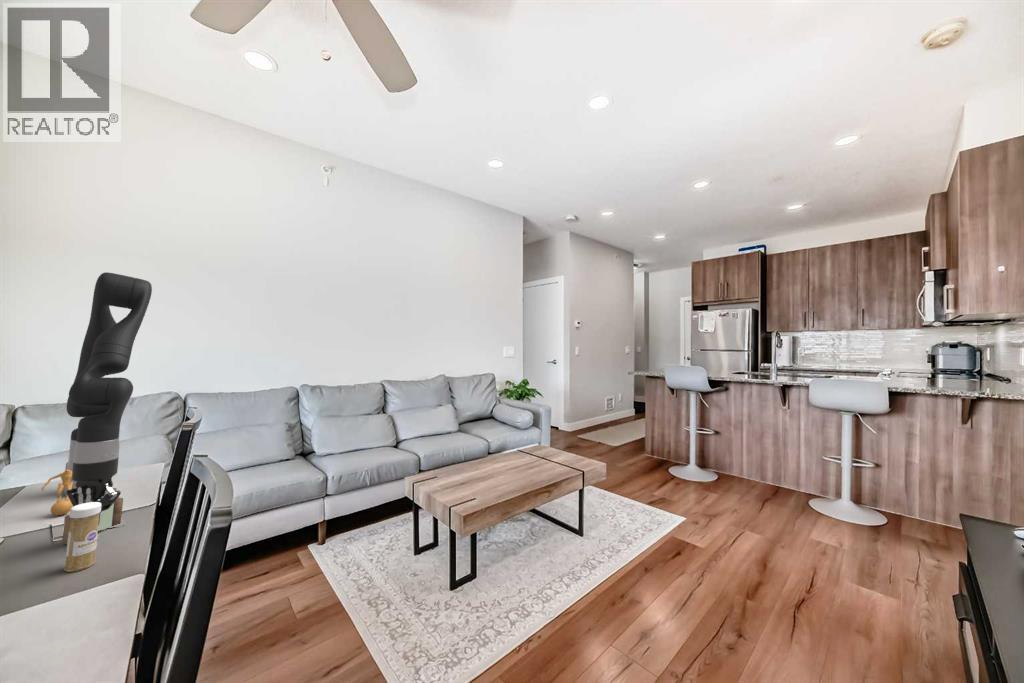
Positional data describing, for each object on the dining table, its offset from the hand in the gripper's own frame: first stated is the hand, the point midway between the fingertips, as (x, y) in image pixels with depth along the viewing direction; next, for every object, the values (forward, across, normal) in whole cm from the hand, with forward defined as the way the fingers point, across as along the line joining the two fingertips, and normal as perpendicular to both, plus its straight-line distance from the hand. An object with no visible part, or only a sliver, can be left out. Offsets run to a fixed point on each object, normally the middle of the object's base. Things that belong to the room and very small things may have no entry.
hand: (90, 528), depth 91 cm
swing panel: (+3, +3, -2) cm, 4 cm away
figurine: (+3, +23, -10) cm, 25 cm away
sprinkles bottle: (+4, -10, +8) cm, 13 cm away
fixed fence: (+3, +8, -10) cm, 13 cm away
